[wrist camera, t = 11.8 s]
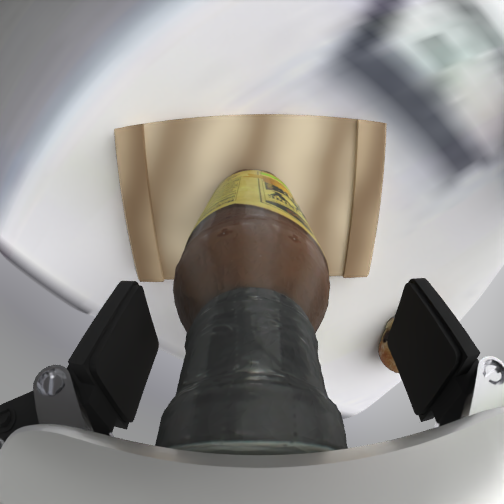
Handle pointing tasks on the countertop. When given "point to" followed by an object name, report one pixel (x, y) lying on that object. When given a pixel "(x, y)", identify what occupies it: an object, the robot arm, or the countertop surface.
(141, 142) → the board
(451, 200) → the countertop surface
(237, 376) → the sauce bottle
